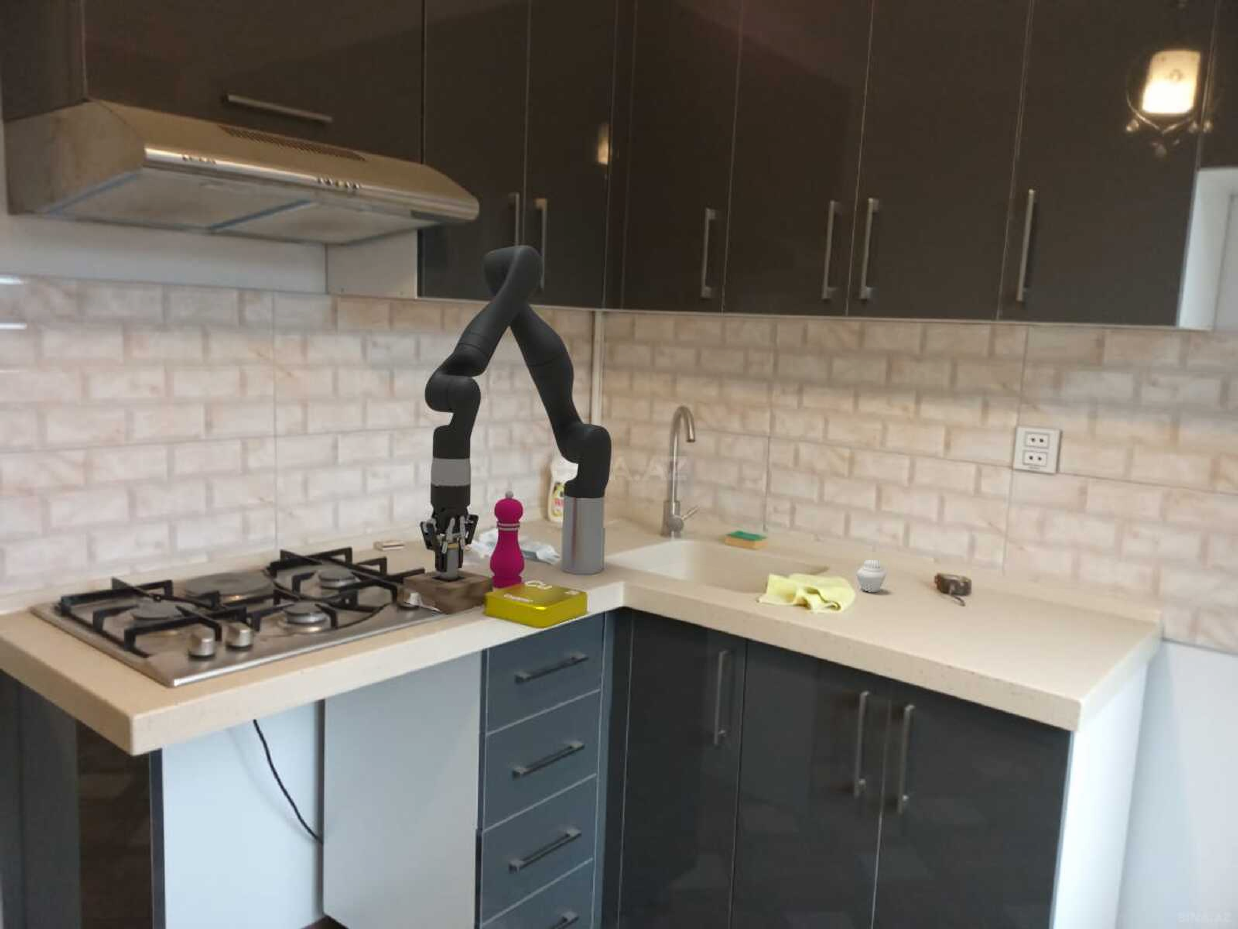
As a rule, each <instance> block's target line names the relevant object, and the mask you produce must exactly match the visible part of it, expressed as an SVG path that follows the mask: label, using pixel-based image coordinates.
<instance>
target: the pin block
mask: <svg viewBox="0 0 1238 929" xmlns="http://www.w3.org/2000/svg"><path fill="white" fill-rule="evenodd" d="M402 579H403V587H402V589H410V590H413V591H415V592H418V593H419V594H420V596H421V601H422V603H423V604H425V605H427V606H432V607H434V608H437V609H439V610H440V611H442V612H443V613H445V614H444V615H449V616H450V615H453V614H457V613H460V612H464V611H467V610H470V609H474V608H475V607H474V606H478V607H481V606H484V595H485V594H486V593H488V592H492V591H494V587H493V578H492V576H491V577H490V576H487V575H482V574H479V573H473V572H469V571H467V570H466V571H465V570H460V569H459V570H458V580H457V581H454V582H450V583H448V582H444V581H440V580H439V572H438V571H436V570H431V571H428V572H424V573H419V574H415V575H412V576H406V577H404V578H402ZM473 607H474V608H473ZM443 613H442V614H443Z"/></svg>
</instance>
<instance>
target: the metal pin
mask: <svg viewBox="0 0 1238 929" xmlns="http://www.w3.org/2000/svg"><path fill="white" fill-rule="evenodd" d="M441 544H442V540H441V542H440V546H441ZM446 553H447V571H446V572H443V573H442V572H439V580H440V581H444V582H448V583H450V582H454V581H457V580H458V570H460V569H459V542H458V541H453V540H450V541H449V542H448V545H447V551H446Z"/></svg>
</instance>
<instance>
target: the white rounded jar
mask: <svg viewBox="0 0 1238 929" xmlns="http://www.w3.org/2000/svg"><path fill="white" fill-rule="evenodd" d="M856 576H857V580H858V582H859V586H860V588H861V590H862V589H863V590H865V591H864V592H866V591H868V592H867V593H877V592H878V591H879V590H880V589H881V587H882V585H883V584H884V583H885V579H886V573H885V572H884V570H883V569H882V567H881V563H880V562H879V561H878V560H875V559H873V558H872V559H867V560H865V561H864V562H863V565H862V566H861V568H859V569H858V570H857V571H856ZM863 590H862V591H863ZM876 591H877V592H876Z"/></svg>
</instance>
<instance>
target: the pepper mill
mask: <svg viewBox="0 0 1238 929" xmlns="http://www.w3.org/2000/svg"><path fill="white" fill-rule="evenodd" d="M523 506H524V505H523V503H521V502H520V500H519V499H516V498H514V492H513V491H512V490H507V491H506V492H505V493H504V498H501V499H500V500H498V501H497V502H496V503H495V506H494V508H493V514H494V516H495V518H496V519H497V520H496V525H495V528H496V529H497V534H498V536H497V540H496V545H495V548H494V550H493V551H492V554H491V556H490V560H489V569H490V571H491V572H492V573H493V575H492V576H491V578H493V588H497V589H502V588H505V587H509V586H512V585H516V584H519V583H522V581H523V579H522V576H521V573H522V572H523V571H524V569H525V559H524V554H523V552H522V550H521V547H520V544H519V530H520V529H521V522H520V519H521V518H522V517H523V514H524V507H523Z"/></svg>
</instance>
